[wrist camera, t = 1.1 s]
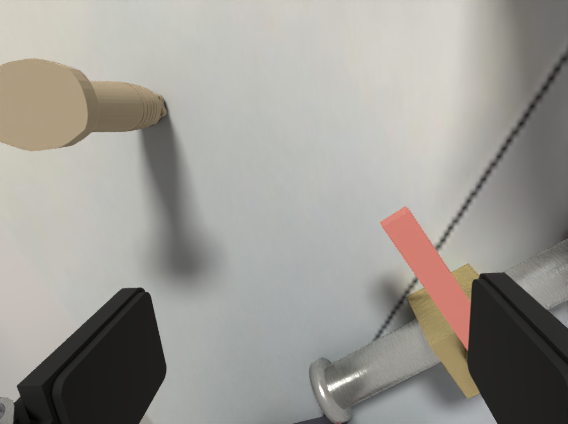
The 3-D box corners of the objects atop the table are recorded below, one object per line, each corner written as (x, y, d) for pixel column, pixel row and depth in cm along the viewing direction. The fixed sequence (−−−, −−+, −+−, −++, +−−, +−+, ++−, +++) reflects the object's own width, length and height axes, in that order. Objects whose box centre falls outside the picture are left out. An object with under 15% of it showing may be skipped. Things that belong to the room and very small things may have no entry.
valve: (571, 206, 33) (650, 236, 25) (600, 258, 34) (684, 302, 27) (309, 350, 40) (307, 409, 32) (341, 390, 41) (346, 455, 34)
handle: (188, 128, 34) (97, 142, 20) (127, 137, 35) (-3, 156, 21) (178, 75, 33) (72, 50, 19) (114, 86, 34) (-34, 69, 20)
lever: (520, 362, 29) (531, 376, 28) (479, 381, 30) (488, 396, 28) (413, 200, 26) (419, 206, 25) (371, 226, 27) (374, 233, 25)
